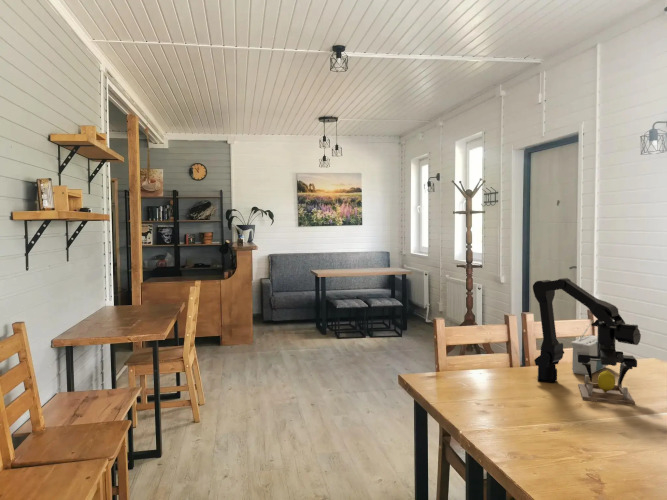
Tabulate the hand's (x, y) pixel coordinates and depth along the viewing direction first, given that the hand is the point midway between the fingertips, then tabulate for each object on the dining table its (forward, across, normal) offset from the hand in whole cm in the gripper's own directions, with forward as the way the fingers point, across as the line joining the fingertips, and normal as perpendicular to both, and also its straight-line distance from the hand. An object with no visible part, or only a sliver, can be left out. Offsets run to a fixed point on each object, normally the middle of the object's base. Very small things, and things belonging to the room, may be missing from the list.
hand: (605, 382), depth 183 cm
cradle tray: (+4, 0, 0) cm, 4 cm away
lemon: (+4, 0, 0) cm, 4 cm away
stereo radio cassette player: (+5, -1, +33) cm, 33 cm away
